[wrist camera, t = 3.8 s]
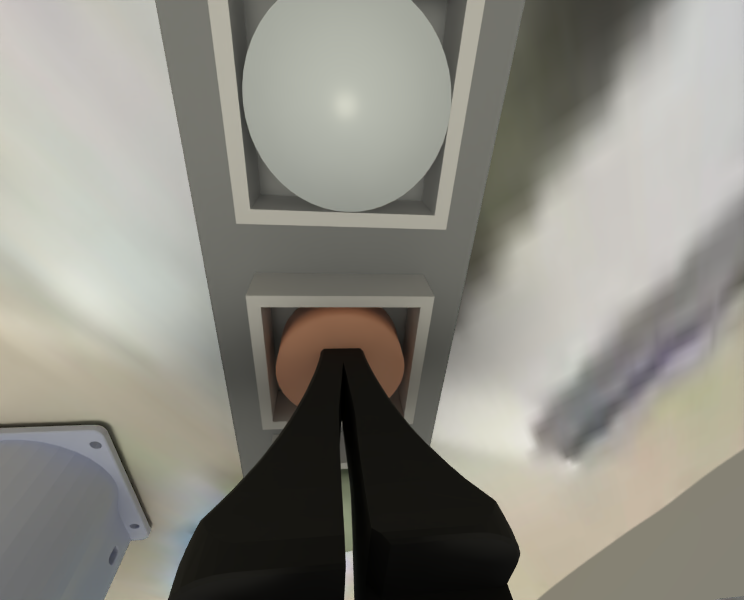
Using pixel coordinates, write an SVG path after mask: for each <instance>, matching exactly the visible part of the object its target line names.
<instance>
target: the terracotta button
mask: <svg viewBox="0 0 744 600" xmlns="http://www.w3.org/2000/svg"><path fill="white" fill-rule="evenodd" d="M333 348H361V349H362V350H363V352H364V355H365V357H366V359H367V361H368V363H369V366H370V367H371V369H372V371H373V373H374V375H375V377H376V378H377V380H378V382H379V383H380V385H381V386H382V388H383V390H384V391H385V393H386V394H387V396H388V397H389V398H390V397H391V396H392V395H393V393H394V392H395V391H396V389H397V388H398V386H399V384H400V383H401V380H402V377H403V373H404V357H403V354H402V350H401V347H400V343H399V340H398V336H397V332H396V329H395V325H394V323H393V321H392V319H391V318H390V316H389V315H388V314H387V313H386V311H385V310H384V309H383V308H381V307H299V308H298V309H297V310H296V311H295V312H294V313H293V314H292V315H291V316H290V318H289V319H288V321H287V323H286V324H285V326H284V329H283V332H282V337H281V342H280V347H279V352H278V357H277V362H276V377H277V381H278V384H279V387H280V388H281V390H282V392H283V393H284V394H285V396H286V397H287V398H288V399H289V400H290V401H291V402H292V403H294V404H295V405H296V406H298V404H299V403H300V401H301V399H302V397H303V396H304V394H305V392H306V390H307V388H308V386H309V383H310V381H311V379H312V377H313V375H314V372H315V370H316V367H317V364H318V361H319V358H320V353H321V351H322V350H323V349H333Z"/></svg>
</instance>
